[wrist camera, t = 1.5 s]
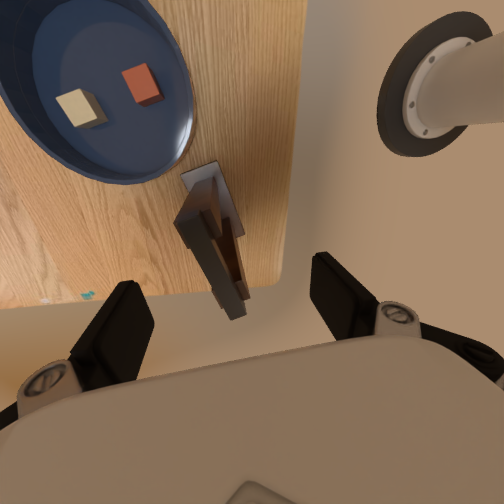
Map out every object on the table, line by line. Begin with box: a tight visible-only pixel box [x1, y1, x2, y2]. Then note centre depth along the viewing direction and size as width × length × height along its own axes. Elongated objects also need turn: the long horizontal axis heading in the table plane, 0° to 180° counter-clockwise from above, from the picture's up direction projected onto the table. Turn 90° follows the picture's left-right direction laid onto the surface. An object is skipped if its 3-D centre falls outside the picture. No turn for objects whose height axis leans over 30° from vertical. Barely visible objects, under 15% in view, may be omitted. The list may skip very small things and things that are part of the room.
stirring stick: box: [177, 209, 247, 320], centre depth 17 cm, size 2×10×2 cm, turn 19°
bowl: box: [0, 0, 197, 185], centre depth 24 cm, size 19×19×6 cm
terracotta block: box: [121, 63, 165, 107], centre depth 25 cm, size 3×3×3 cm
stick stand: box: [173, 160, 250, 309], centre depth 26 cm, size 6×13×20 cm, turn 18°
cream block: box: [56, 89, 108, 129], centre depth 25 cm, size 3×3×3 cm
